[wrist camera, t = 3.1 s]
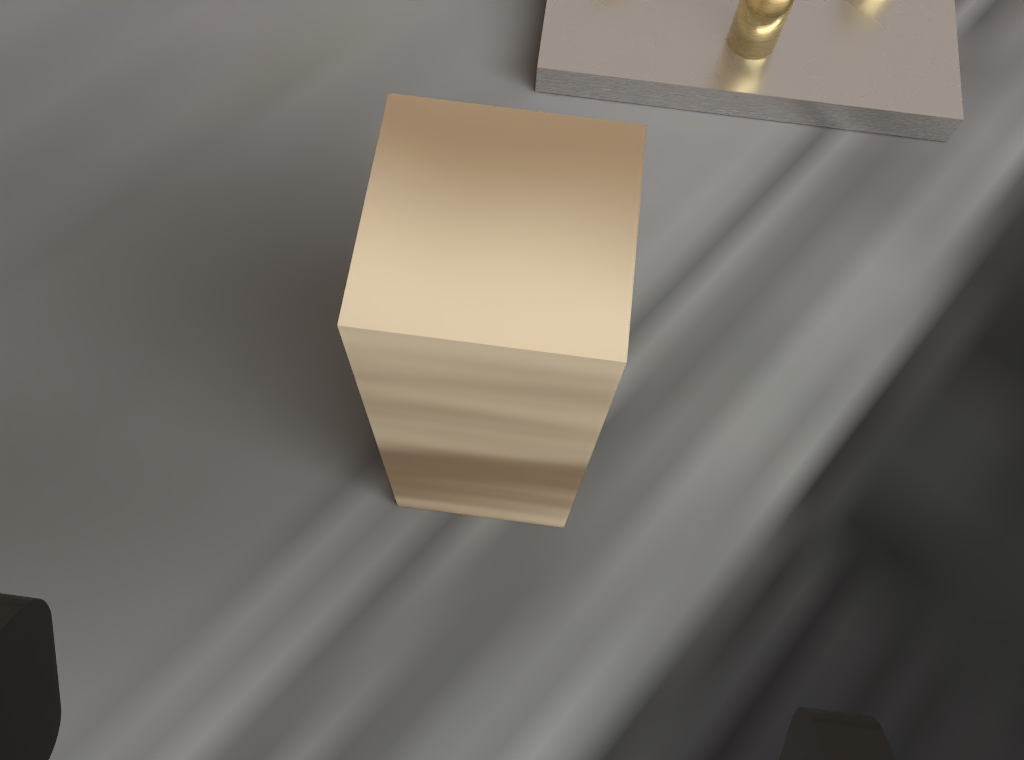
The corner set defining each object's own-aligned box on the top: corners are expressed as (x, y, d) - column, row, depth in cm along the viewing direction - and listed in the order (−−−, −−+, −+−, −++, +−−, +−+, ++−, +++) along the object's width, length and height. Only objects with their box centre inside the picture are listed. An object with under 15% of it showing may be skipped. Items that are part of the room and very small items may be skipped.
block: (563, 527, 22) (626, 362, 12) (398, 505, 22) (337, 325, 12) (579, 374, 23) (646, 125, 14) (424, 354, 23) (388, 93, 14)
